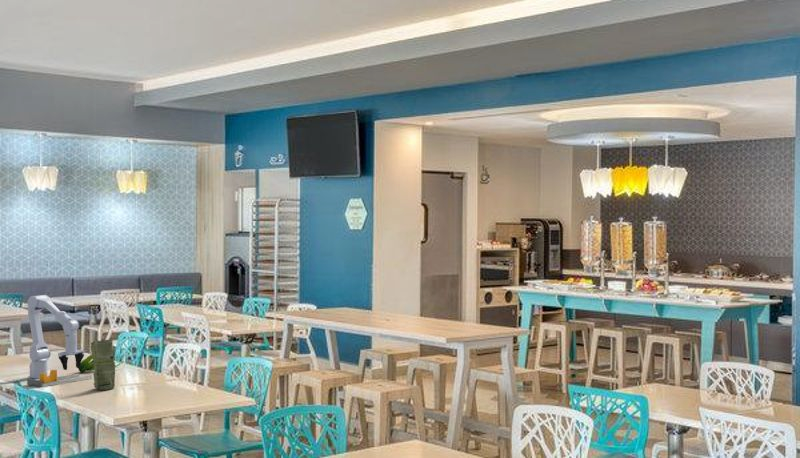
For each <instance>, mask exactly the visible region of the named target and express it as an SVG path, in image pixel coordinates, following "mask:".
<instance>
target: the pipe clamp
mask: <svg viewBox="0 0 800 458" xmlns="http://www.w3.org/2000/svg"><path fill="white" fill-rule="evenodd" d="M49 371H50V372H49V376H48V377H47V373H41V374H40V379H39V380H40V381H42V383H48V382H54V381H58V380H57V377H58V370H57V369H50V370H49Z"/></svg>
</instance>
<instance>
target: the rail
mask: <svg viewBox="0 0 800 458" xmlns="http://www.w3.org/2000/svg"><path fill="white" fill-rule="evenodd" d="M91 379H93V377H92V375H91V374H90V375H86V376H80V373H74V374H67V375H63V376H62V375H61V376H57V381H54V382H48V383H42V381H40V379H34V378H27V380H26V384H27V386H30V387H31V386H32V387H37V388H45V387H50V386H57V385H62V384H63V385H64V384H67V383H68V384H69V383H73V382H79V381H86V380H91Z"/></svg>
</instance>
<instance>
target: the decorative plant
mask: <svg viewBox="0 0 800 458" xmlns="http://www.w3.org/2000/svg"><path fill="white" fill-rule="evenodd" d="M121 345H122V343H120V344H119V345H118V346H116V347H114V348H113V347H112V350H117V348H119V347H120V346H121ZM121 354H123V353H122V352H121V353H118V354H117V355H115V356H114V355H113V357H114V359H115V358H116V357H117V356H118V355H121ZM127 362H128V361H121V362H119V363H118V364H115V368H118V366H120V365H121V364H124V363H127ZM129 363H132V362H130V361H129ZM92 365H93V359H92V353H91V354H90V355H88V356H87V357H86V358H85V359H82V361H81V364H80V368H77V369H78V371H79V374H83V373H84V372H92V371H94V368H93V366H92ZM121 369H122V367H121ZM121 369H120V368H119V369H118V370H121ZM122 370H123V369H122Z"/></svg>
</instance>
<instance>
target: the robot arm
mask: <svg viewBox="0 0 800 458" xmlns="http://www.w3.org/2000/svg"><path fill="white" fill-rule="evenodd" d="M26 304H27V307H28V308H27V315H28V321H29V322H28V323H29V326H30V332H31V338H32V344H31V346H30V347H29V358H30V360H31V362H30V363H29V375H28V377H27V378H29V379H35V380H40V374H41V373H47V377H48V376H50V374H49V375H48V372H49V371H48V361H49V358H50V357H51V355H52V354H51V353H52V352H51V350H50V348H49V344H47V342H45V340H44V334H43V328H42V327H43V326H42V321H41V317H40V313H41V312H42V310H44V309H46V310H48V311H49V313H51V314H52V315H54V317H55V319H54V320H56V321H57V322H58V323H59V324H60V325H61V326H62V329H63V331H64V335H65V350H64V351H61V352H58V353H57V354H58V355H57V356H58V359H59V360H60V363H61V365H62V369H63V370H64V371H67V370H68V360H69V356H73V355H74V358H75V368H77V369H78V368H80V364H81V362H82V361H83V358H84V355H85V349H78V330H79V328H80V322H79V321H78V320H77V319H73V317H71V316H69V314H67V312H66V311H63V310H60V309H59V308H58V307H57V306H56V305H55V304H54V303H53V302H52V299H51V298H50V297H49V296H48V295H47V294H41V295H31V296H29V298H28V300H27V303H26Z"/></svg>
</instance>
